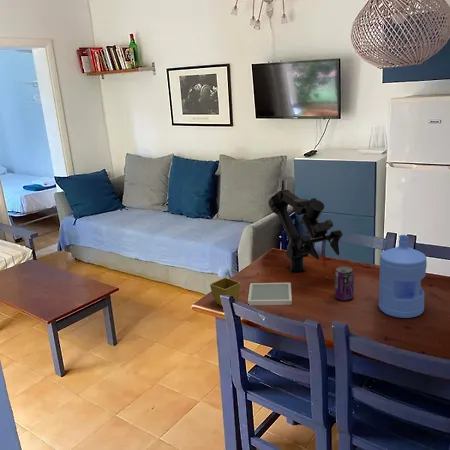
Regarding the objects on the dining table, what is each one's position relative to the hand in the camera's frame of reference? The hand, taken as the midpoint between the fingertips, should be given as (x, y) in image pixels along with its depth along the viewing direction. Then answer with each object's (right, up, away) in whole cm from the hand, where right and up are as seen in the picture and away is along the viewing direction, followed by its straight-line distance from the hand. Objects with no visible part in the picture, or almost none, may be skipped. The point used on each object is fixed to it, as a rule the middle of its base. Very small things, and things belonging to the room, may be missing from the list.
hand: (328, 257), depth 186 cm
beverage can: (+6, -16, -2) cm, 17 cm away
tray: (-23, -16, +4) cm, 28 cm away
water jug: (+23, -18, -14) cm, 33 cm away
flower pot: (-40, -19, 0) cm, 45 cm away
